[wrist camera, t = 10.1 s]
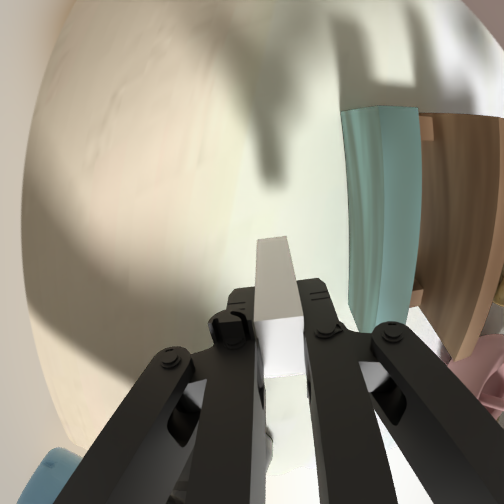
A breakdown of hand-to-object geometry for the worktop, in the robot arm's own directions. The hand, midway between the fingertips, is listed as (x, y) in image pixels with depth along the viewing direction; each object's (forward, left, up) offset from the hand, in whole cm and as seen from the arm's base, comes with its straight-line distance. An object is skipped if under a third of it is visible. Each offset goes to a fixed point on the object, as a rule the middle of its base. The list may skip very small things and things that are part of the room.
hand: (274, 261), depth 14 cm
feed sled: (+9, 0, -4) cm, 10 cm away
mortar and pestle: (+21, -18, -5) cm, 28 cm away
